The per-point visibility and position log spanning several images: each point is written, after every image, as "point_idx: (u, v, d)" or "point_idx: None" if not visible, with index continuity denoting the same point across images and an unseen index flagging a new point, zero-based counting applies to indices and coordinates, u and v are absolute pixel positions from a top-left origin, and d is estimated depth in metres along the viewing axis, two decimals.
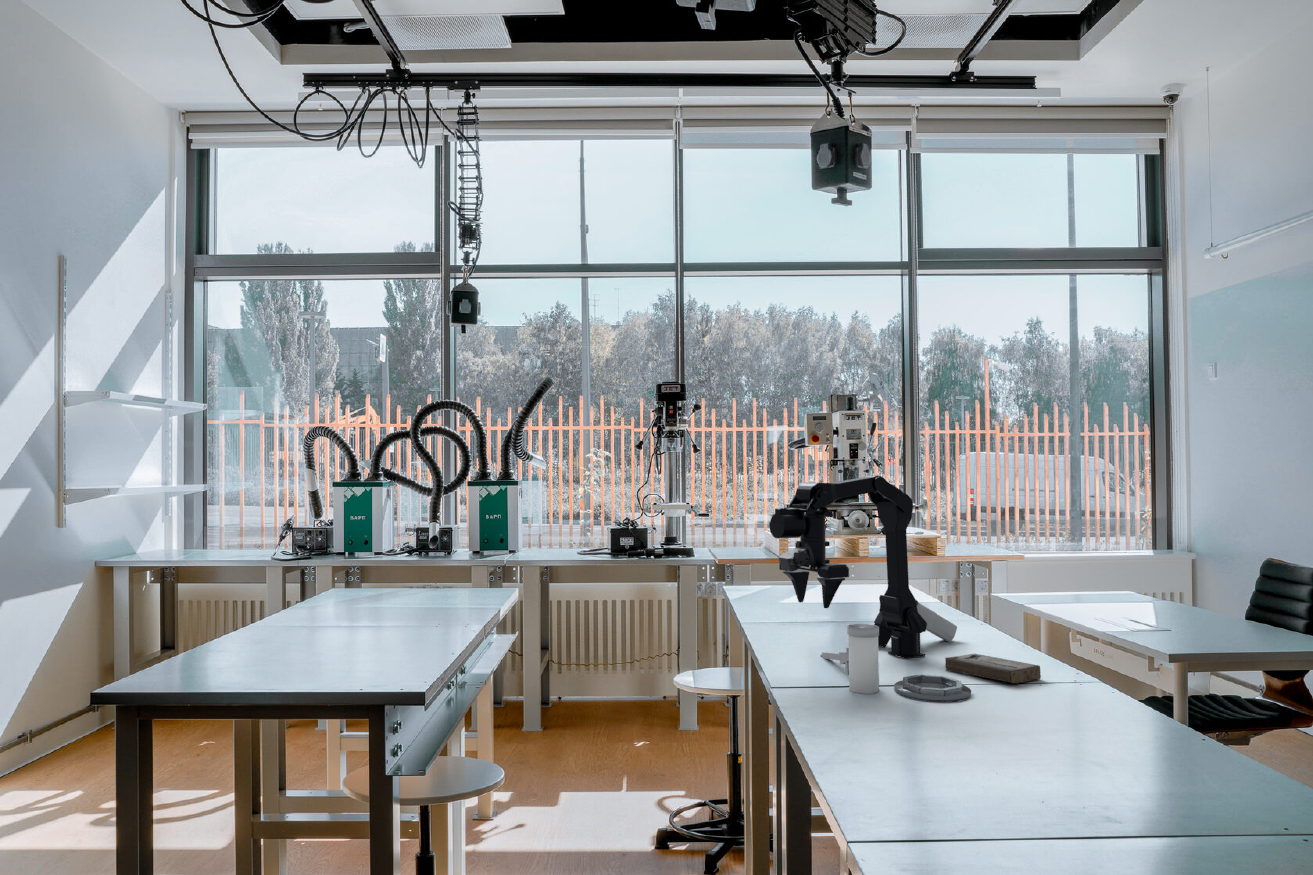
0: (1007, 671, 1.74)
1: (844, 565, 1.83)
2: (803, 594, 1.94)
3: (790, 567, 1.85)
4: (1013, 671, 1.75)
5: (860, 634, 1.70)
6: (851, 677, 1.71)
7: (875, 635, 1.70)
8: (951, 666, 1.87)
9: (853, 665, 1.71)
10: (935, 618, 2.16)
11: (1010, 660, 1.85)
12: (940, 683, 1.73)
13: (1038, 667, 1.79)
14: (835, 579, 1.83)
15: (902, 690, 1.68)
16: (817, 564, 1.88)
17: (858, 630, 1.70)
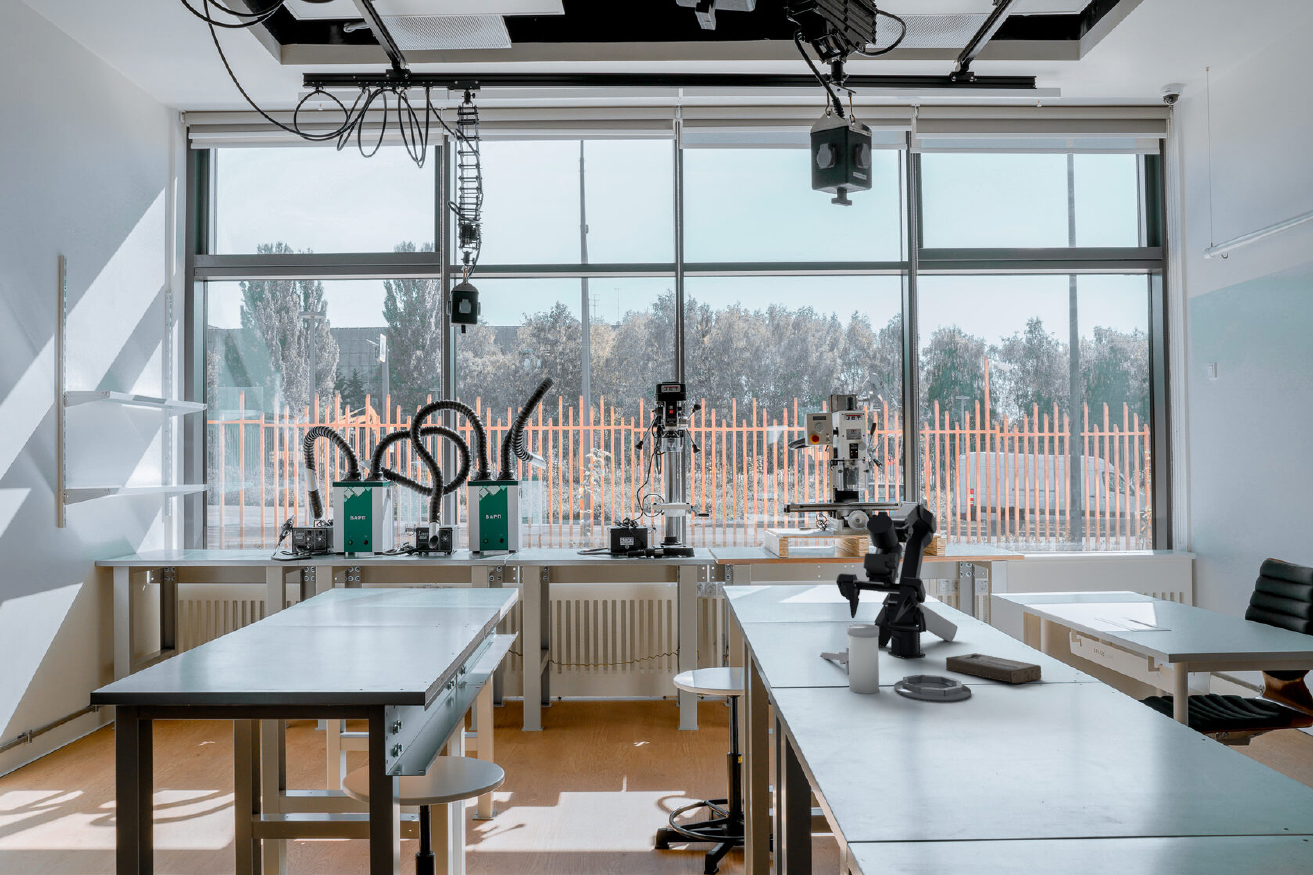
0: (1008, 671, 1.75)
1: None
2: (855, 612, 1.83)
3: (881, 563, 1.80)
4: (1014, 671, 1.75)
5: (860, 634, 1.70)
6: (851, 677, 1.71)
7: (875, 635, 1.70)
8: (952, 665, 1.87)
9: (853, 665, 1.71)
10: (935, 618, 2.16)
11: (1011, 660, 1.85)
12: (940, 683, 1.73)
13: (1039, 667, 1.79)
14: (915, 595, 1.79)
15: (902, 690, 1.68)
16: (892, 581, 1.84)
17: (858, 630, 1.70)
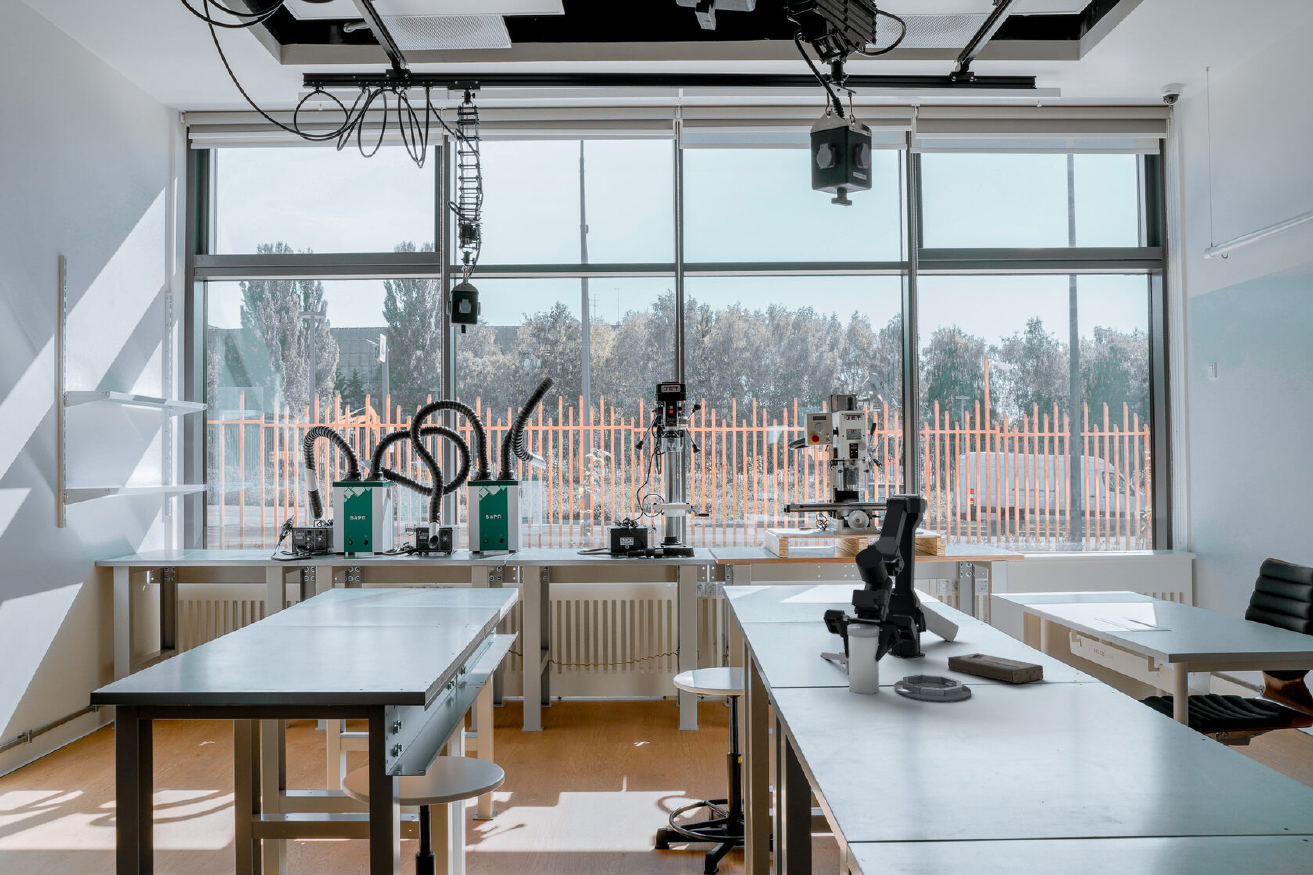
0: (1009, 671, 1.75)
1: None
2: None
3: (870, 600, 1.72)
4: (1015, 671, 1.75)
5: (860, 634, 1.70)
6: (851, 677, 1.71)
7: (875, 635, 1.70)
8: (954, 665, 1.87)
9: (853, 665, 1.71)
10: (936, 618, 2.16)
11: (1013, 660, 1.85)
12: (940, 683, 1.73)
13: (1041, 667, 1.79)
14: (899, 634, 1.72)
15: (902, 690, 1.68)
16: (882, 619, 1.75)
17: (858, 630, 1.70)
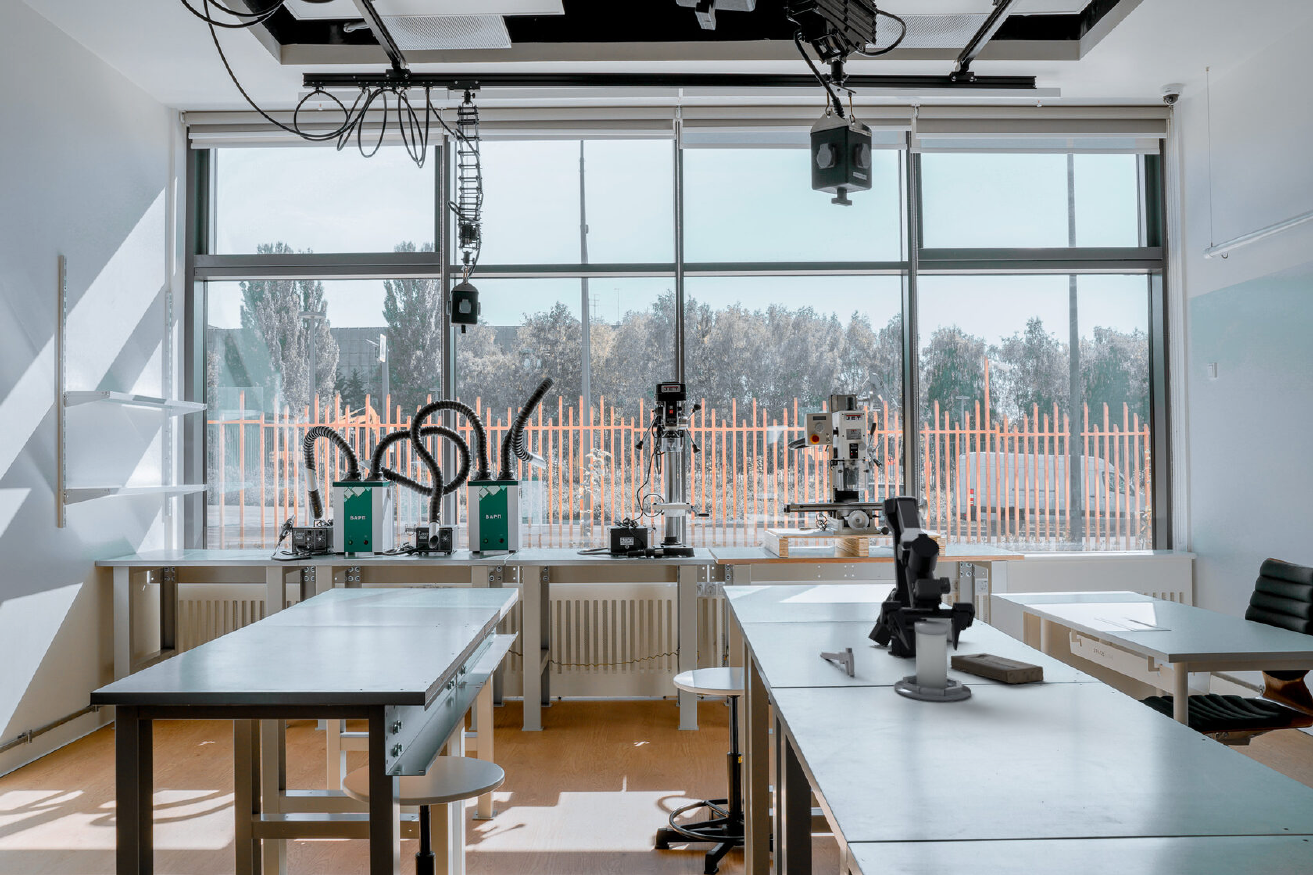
0: (1004, 671, 1.75)
1: None
2: None
3: (939, 589, 1.70)
4: (1010, 671, 1.75)
5: (935, 632, 1.67)
6: (924, 676, 1.68)
7: (947, 631, 1.69)
8: (956, 664, 1.88)
9: (927, 664, 1.68)
10: None
11: (1016, 661, 1.85)
12: None
13: (1041, 668, 1.78)
14: None
15: (902, 690, 1.68)
16: (939, 607, 1.75)
17: (933, 628, 1.68)
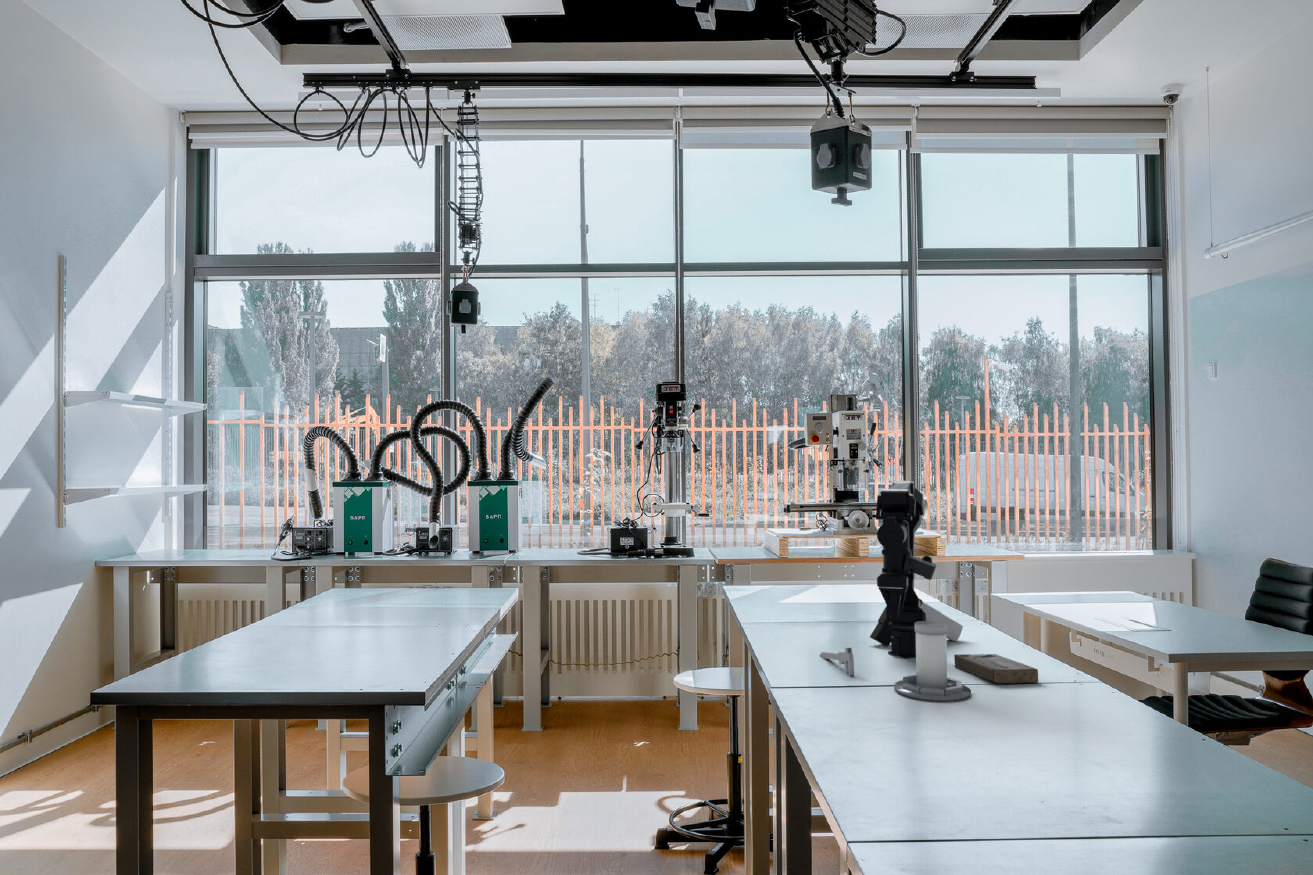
0: (991, 670, 1.75)
1: None
2: None
3: None
4: (998, 671, 1.75)
5: (935, 632, 1.67)
6: (924, 676, 1.68)
7: (946, 631, 1.69)
8: (958, 662, 1.90)
9: (927, 664, 1.68)
10: (939, 618, 2.17)
11: (1017, 662, 1.83)
12: None
13: (1035, 670, 1.76)
14: None
15: (902, 690, 1.68)
16: None
17: (933, 628, 1.68)
